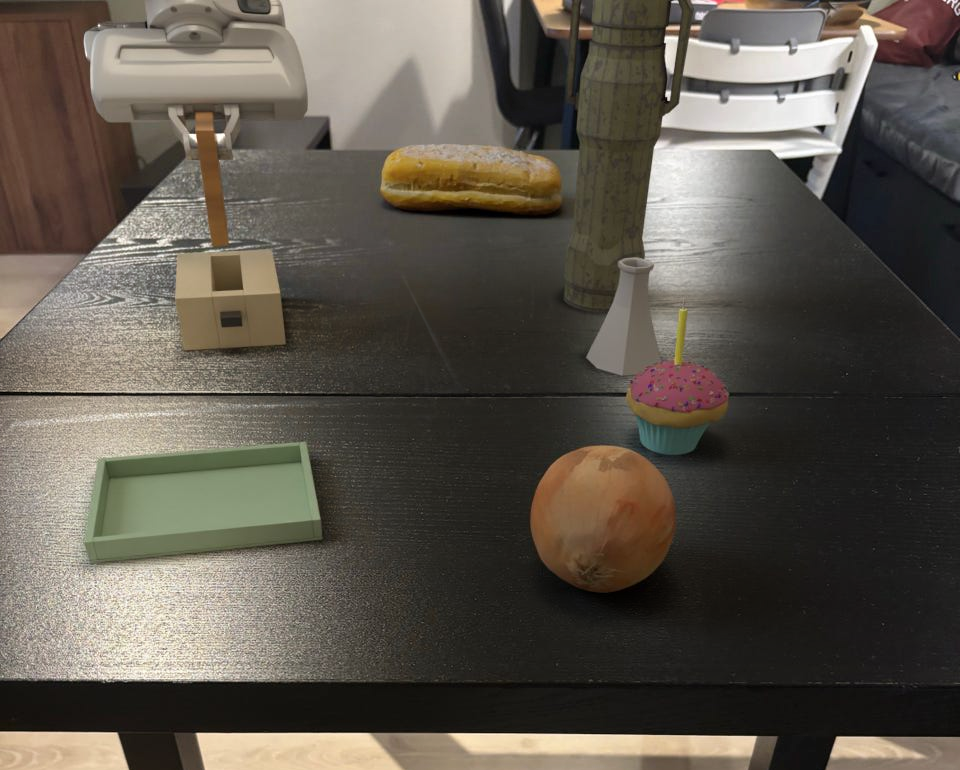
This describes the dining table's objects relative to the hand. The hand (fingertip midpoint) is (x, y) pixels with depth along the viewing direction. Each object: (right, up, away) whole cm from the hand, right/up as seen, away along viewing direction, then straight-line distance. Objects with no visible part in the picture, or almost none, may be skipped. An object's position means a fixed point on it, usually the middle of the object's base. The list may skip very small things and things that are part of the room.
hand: (209, 156), depth 90 cm
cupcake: (+43, -30, -8) cm, 53 cm away
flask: (+41, -19, +5) cm, 45 cm away
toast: (0, -6, +3) cm, 7 cm away
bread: (+25, +17, +49) cm, 57 cm away
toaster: (0, -14, +9) cm, 17 cm away
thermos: (+40, -7, +19) cm, 45 cm away
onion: (+34, -43, -24) cm, 60 cm away
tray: (+5, -37, -19) cm, 42 cm away
